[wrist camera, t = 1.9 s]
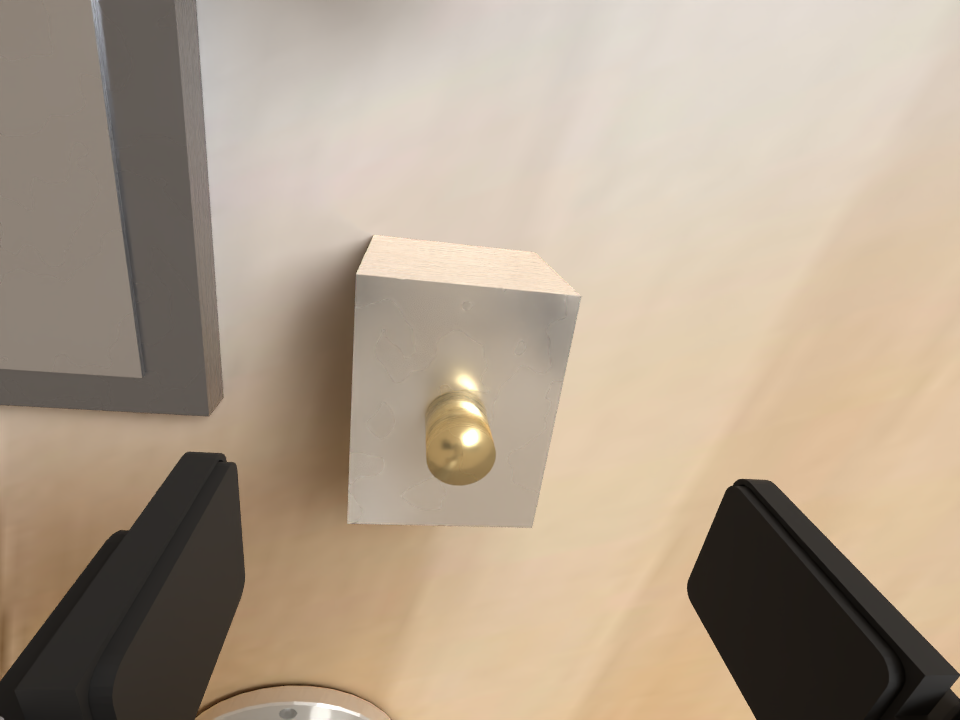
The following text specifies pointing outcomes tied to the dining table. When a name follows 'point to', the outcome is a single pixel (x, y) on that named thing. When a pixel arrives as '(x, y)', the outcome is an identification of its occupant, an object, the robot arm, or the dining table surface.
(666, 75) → the dining table surface
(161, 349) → the press bed
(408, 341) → the block
